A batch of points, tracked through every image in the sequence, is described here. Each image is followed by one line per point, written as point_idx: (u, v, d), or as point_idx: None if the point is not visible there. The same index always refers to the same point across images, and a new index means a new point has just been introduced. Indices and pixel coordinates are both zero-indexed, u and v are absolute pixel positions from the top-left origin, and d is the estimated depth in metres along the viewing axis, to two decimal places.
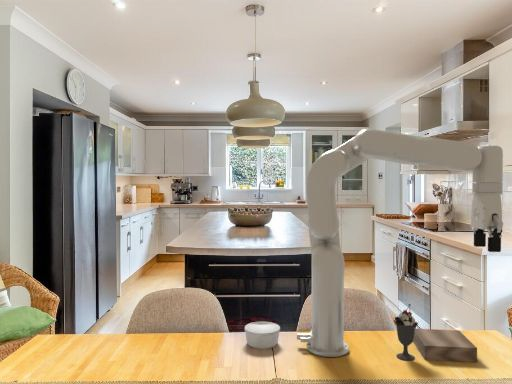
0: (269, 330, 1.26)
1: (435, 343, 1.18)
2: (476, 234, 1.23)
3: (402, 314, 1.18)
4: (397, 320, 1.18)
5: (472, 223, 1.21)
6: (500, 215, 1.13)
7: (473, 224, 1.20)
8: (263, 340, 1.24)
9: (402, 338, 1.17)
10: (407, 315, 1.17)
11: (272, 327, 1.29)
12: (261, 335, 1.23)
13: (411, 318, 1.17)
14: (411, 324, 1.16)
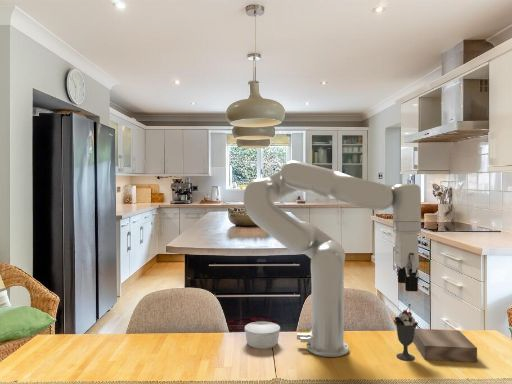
0: (269, 330, 1.26)
1: (435, 343, 1.18)
2: (400, 270, 1.23)
3: (402, 314, 1.18)
4: (397, 320, 1.18)
5: (395, 260, 1.21)
6: (417, 254, 1.13)
7: (395, 261, 1.20)
8: (263, 340, 1.24)
9: (402, 338, 1.17)
10: (407, 315, 1.17)
11: (272, 327, 1.29)
12: (261, 335, 1.23)
13: (411, 318, 1.17)
14: (411, 324, 1.16)
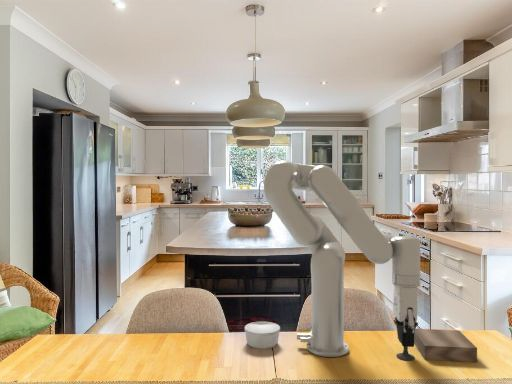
0: (269, 330, 1.26)
1: (435, 343, 1.18)
2: None
3: None
4: (397, 320, 1.18)
5: (393, 310, 1.22)
6: (415, 309, 1.13)
7: (394, 312, 1.21)
8: (263, 340, 1.24)
9: None
10: None
11: (272, 327, 1.28)
12: (261, 335, 1.23)
13: None
14: None
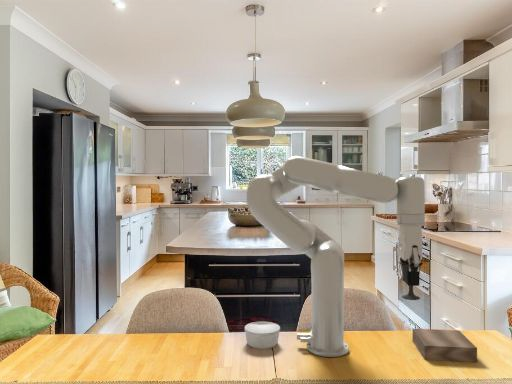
0: (269, 330, 1.26)
1: (435, 343, 1.18)
2: None
3: None
4: (402, 260, 1.18)
5: (398, 253, 1.22)
6: (420, 247, 1.13)
7: (399, 254, 1.21)
8: (263, 340, 1.24)
9: None
10: None
11: (272, 327, 1.28)
12: (261, 335, 1.23)
13: None
14: None
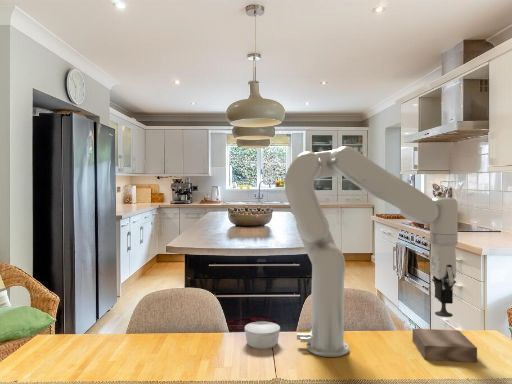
0: (269, 330, 1.26)
1: (435, 343, 1.18)
2: None
3: None
4: (435, 278, 1.22)
5: (430, 271, 1.26)
6: (454, 266, 1.17)
7: (431, 272, 1.25)
8: (263, 340, 1.24)
9: None
10: None
11: (272, 327, 1.28)
12: (261, 335, 1.23)
13: None
14: None
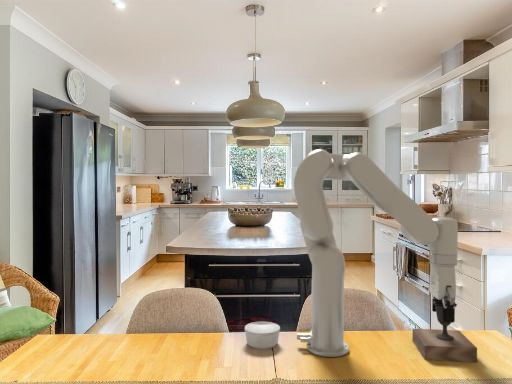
0: (269, 330, 1.26)
1: (435, 343, 1.18)
2: None
3: None
4: (436, 301, 1.22)
5: (430, 290, 1.26)
6: (454, 287, 1.17)
7: (431, 291, 1.25)
8: (263, 340, 1.24)
9: None
10: None
11: (272, 327, 1.28)
12: (261, 335, 1.23)
13: None
14: None
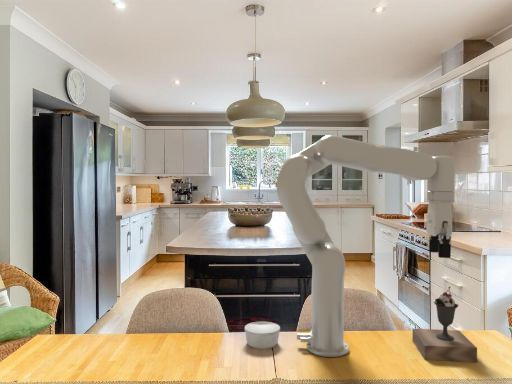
0: (269, 330, 1.26)
1: (435, 343, 1.18)
2: (431, 240, 1.28)
3: (443, 296, 1.22)
4: (438, 301, 1.22)
5: (427, 230, 1.27)
6: (450, 223, 1.18)
7: (428, 231, 1.26)
8: (263, 340, 1.24)
9: (443, 319, 1.21)
10: (448, 297, 1.22)
11: (272, 327, 1.28)
12: (261, 335, 1.23)
13: (451, 299, 1.22)
14: (452, 305, 1.20)
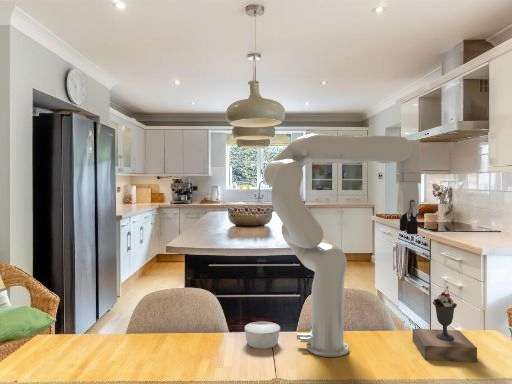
0: (269, 330, 1.26)
1: (435, 343, 1.18)
2: (401, 219, 1.37)
3: (441, 296, 1.22)
4: (436, 302, 1.22)
5: (397, 209, 1.36)
6: (417, 201, 1.27)
7: (397, 210, 1.35)
8: (263, 340, 1.24)
9: (442, 319, 1.21)
10: (446, 297, 1.21)
11: (272, 327, 1.29)
12: (261, 335, 1.23)
13: (450, 299, 1.22)
14: (451, 305, 1.20)
